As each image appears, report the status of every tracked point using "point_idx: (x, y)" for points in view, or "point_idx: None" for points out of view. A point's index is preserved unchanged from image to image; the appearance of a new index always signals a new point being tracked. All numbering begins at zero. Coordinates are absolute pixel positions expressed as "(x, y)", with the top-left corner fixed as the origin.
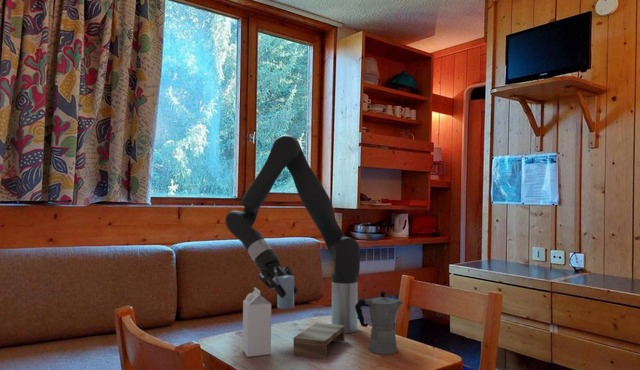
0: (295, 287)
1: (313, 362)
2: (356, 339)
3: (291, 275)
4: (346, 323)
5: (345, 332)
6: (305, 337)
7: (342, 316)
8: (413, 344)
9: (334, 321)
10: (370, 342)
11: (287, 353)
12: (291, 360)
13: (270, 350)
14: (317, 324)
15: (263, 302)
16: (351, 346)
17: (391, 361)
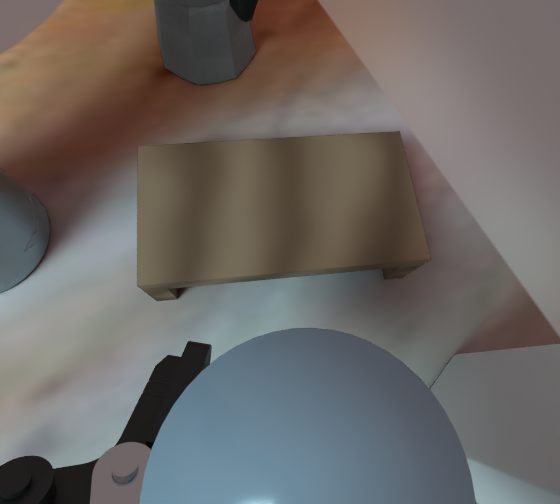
0: (183, 371)
1: (429, 183)
2: (117, 150)
3: (160, 452)
4: (20, 189)
5: (45, 212)
6: (401, 214)
7: (2, 190)
8: None
9: (7, 249)
10: (234, 51)
11: (403, 304)
12: (456, 253)
13: (464, 354)
14: (171, 264)
15: None
16: (212, 138)
17: (298, 9)
